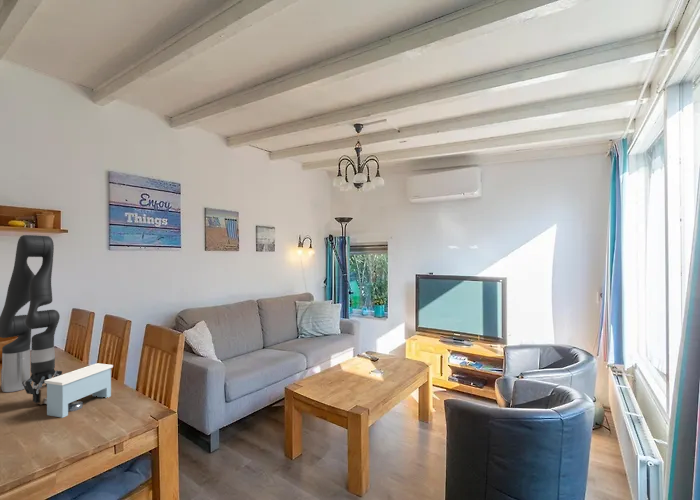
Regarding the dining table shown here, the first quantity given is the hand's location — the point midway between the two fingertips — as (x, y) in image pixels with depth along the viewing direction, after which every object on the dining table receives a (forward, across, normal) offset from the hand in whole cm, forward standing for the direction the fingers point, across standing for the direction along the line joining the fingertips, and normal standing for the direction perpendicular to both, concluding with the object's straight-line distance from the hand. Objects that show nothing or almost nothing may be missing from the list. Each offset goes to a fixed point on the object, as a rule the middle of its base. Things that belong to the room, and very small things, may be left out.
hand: (43, 399), depth 145 cm
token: (+2, 0, +17) cm, 17 cm away
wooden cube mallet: (+1, 0, +6) cm, 6 cm away
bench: (+2, -3, +16) cm, 17 cm away
